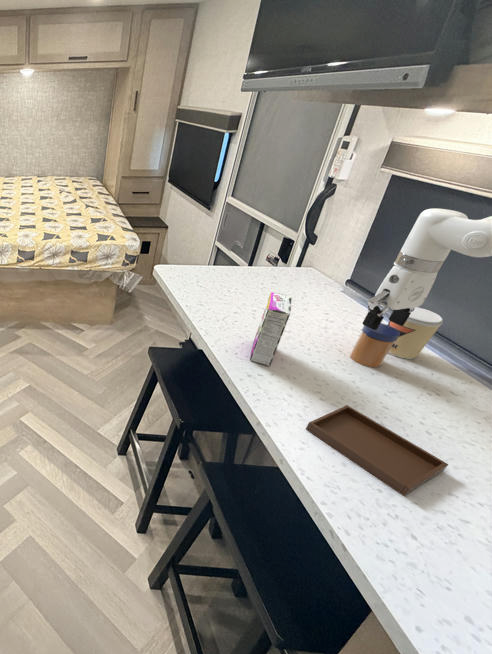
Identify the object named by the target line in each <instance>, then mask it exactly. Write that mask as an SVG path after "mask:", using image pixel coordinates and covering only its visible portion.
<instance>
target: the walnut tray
mask: <svg viewBox="0 0 492 654" xmlns="http://www.w3.org/2000/svg"><path fill="white" fill-rule="evenodd" d="M305 431H307V432H309V433H311V434H312V435H314V436H315V437H316V438H318V439H319V440H321V441H322V442H324V443H325V444H327V445H328V446H330V447H331V448H333V449H334V450H336V451H337V452H339V453H340V454H342V455H343V456H344V457H346V458H347V459H349V460H351V461H352V462H353V463H354V464H356V465H357V466H359V467H360V468H363V469H364V470H365V471H366V472H368V473H369V474H371V475H373V476H374V477H375V478H377V479H378V480H380V481H381V482H383V483H384V484H386V485H387V486H389V487H390V488H391V489H393V490H395V491H396V492H397V493H398V494H401V496H403V497H405V496H406V495H408V494H409V493H412V492H413V491H415V490H416V489H418V488H419V487H421V486H422V485H424V484H426V483H428V482H429V481H430V480H432V479H433V478H435V477H437V476H438V475H440V474H442V473H443V472H444V471H445V470H446V469H447V468H448V466H449V463H447V462H445V461H444V460H442V459H440V458H438V457H437V456H435V455H434V454H432V453H430V452H428V451H427V450H425V449H423V448H421V447H419V446H418V445H416V444H414V443H413V442H411V441H410V440H407V439H406V438H404V437H402V436H401V435H399V434H397V432H395V431H392V430H390V429H389V428H387V427H385V426H384V425H382V424H380V423H379V422H377V421H375V420H373V419H372V418H370V417H369V416H367V415H365V414H363V413H362V412H359V411H358V410H356V409H355V408H353V407H351V406H350V405H347V404H346V405H344V406H342V407H340V408H337V409H335V410H333V411H331V412H328V413H326V414H325V415H322V416H320V417H318V418H315V419H314V420H311V421H309V422H308V424H307V426H306V428H305Z"/></svg>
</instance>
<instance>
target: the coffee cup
mask: <svg viewBox="0 0 492 654" xmlns="http://www.w3.org/2000/svg"><path fill="white" fill-rule="evenodd" d="M410 313H411V314H410V316H409V317H408V319H407V321H406V322H405V324H404V325H403V326H400V325H398V324H396V323H393V322H391V321H389V320H388V323H387V325H389V326H391V327H393V328H395V329H397V330H398V331H399V332H400V335H399V337H398V338H397V340H396V341H395V342H394V343H393V345H392V347H391V349H390V350H389V352H388V355H392V356H394V357H396V358H401V359H406V360H407V359H408V360H413V359H416V358H417V357H418V356H419V354H420V353H421V352H422V351H423V349H424V348H425V347H426V345H427V344H428V343H429V341H430V340H431V338H433V336H434V335H435V333H436V332H437V331H438V329H439V328H440V326H442V325H443V318H442V317H441V315H439V314H438V313H436V312H434V311H432V310H428V309H425V308H422V307H420V306H418V307H415V309H414V311H413V312H410Z"/></svg>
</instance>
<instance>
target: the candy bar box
mask: <svg viewBox="0 0 492 654" xmlns="http://www.w3.org/2000/svg"><path fill="white" fill-rule="evenodd" d="M292 298H293V297H292V296H291V295H287V294H283V293H278V292H273V291H271V292H270V294H269V296H268V299H267V302H266V305H265V307H264V310H263V313H262V316H261V319H260V322H259V324H258V328H257V330H256V333H255V336H254V339H253V343H252V348H251V352H250V359H249V361H250V362H253V363H257V364H260V365H264V366H267V367H270V366H271V364H272V362H273V359H274V357H275V354H276V352H277V349H278V346H279V345H280V342H281V339H282V336H283V333H284V332H285V329H286V326H287V323H288V321H289V318H290V316H291V312H292Z"/></svg>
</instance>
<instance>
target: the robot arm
mask: <svg viewBox="0 0 492 654" xmlns="http://www.w3.org/2000/svg"><path fill="white" fill-rule="evenodd" d="M451 251H455V252H457V253H459V254H462V255H465V256H468V257H472V258H487V257H488V258H490V257H492V215H491V216H487V217H484V218H482V219H470V218H469V217H468V216H467V214H465V213H463V212H461V211H458V210H452V209H448V208H447V209H446V208H438V207H437V208H435V207H434V208H428V209H425V210H423V211H422V212H420V214H419V215H418V217H417V219H416V221H415V223H414V224H413V227H412V228H411V230H410V232H409V234H408V236H407V238H406V239H405V241H404V244H403V245H402V247H401V249H400V251H399V253H398V254H397V257H396V258H395V260H394V262H393V266H392V268H391V269H390V270H389V271H388V272H387V274H386V276H385V277H384V279H383V281H382V282H381V284H380V286H379V287H378V289H377V291H376V293H375V295H374V296H373V297H371V298H370V299H368V300H367V301H368V303H367V304H368V306H367V308H368V309H367V313H366V316H365V317H364V320H363V321H362V325H363V326H364V325H365V326H367V327H369V328H371V329H373V330H377V329H378V327H379V325H380V323H382V322H383V321H384V318H385V316H384V315H385V314H386V313H387V312H388V311H389V310H392V312H391V314H390V316H389V317H388V322H389V321H391V322H393V323H396V324H398V325H400V326H403V325H404V324H405V322H406V321H407V319H408V317H409V316H410V314H411V313H410V312H413V311H414V309H415V307H420V306H422V305H423V304H424V302H425V301H426V299H427V297H428V295H429V293H430V292H431V290H432V288H433V286H434V283H435V281H436V279H437V276H438V272H439V270H440V269H441V267H442V266H443V264H444V262H445V261H446V260H447V258H448V256H449V254H450V252H451ZM380 306H381V307H383V308H382V309H381V308H380Z"/></svg>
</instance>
